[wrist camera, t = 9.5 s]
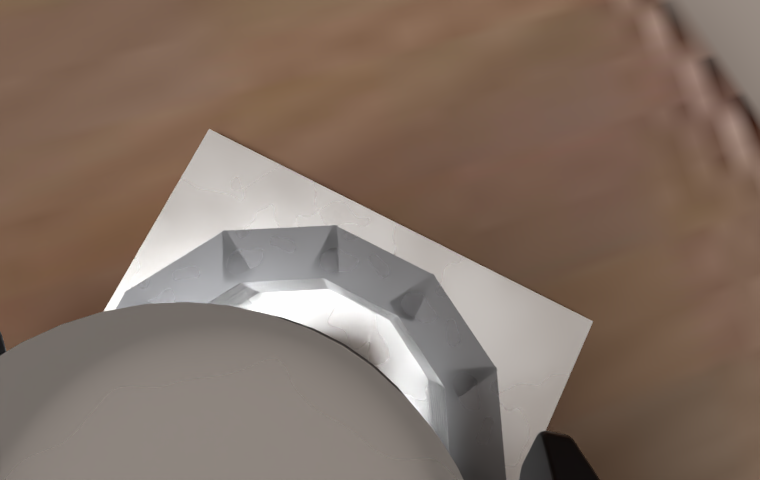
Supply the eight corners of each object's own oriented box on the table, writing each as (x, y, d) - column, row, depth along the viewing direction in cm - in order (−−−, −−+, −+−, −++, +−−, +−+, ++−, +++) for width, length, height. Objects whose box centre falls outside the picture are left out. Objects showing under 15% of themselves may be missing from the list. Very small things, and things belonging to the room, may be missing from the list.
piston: (431, 429, 17) (640, 639, 5) (292, 574, 16) (126, 1258, 4) (301, 293, 17) (194, 173, 5) (159, 427, 16) (-348, 650, 4)
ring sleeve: (584, 322, 18) (643, 317, 14) (399, 746, 16) (413, 864, 12) (214, 136, 18) (180, 86, 15) (-13, 528, 16) (-115, 582, 13)
